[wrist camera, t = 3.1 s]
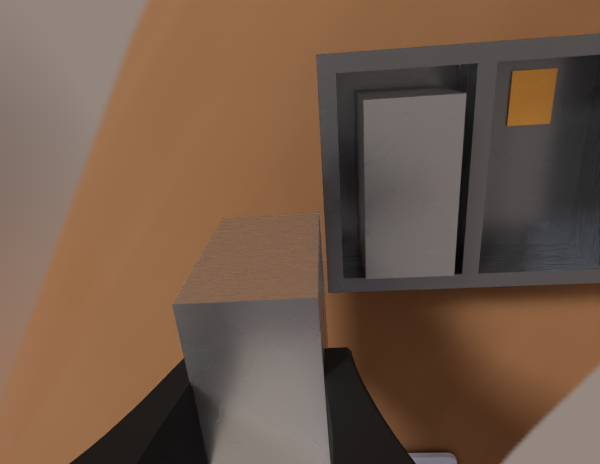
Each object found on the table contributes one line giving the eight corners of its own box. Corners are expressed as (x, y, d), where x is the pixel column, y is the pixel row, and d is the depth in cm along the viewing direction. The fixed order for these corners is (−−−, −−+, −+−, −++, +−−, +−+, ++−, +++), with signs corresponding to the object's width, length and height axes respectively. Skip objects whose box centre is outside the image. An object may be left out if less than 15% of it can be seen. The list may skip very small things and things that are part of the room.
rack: (578, 249, 19) (649, 303, 15) (327, 259, 20) (329, 313, 16) (617, 32, 16) (720, 24, 12) (317, 54, 17) (315, 54, 13)
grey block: (329, 369, 16) (333, 502, 11) (247, 372, 16) (216, 504, 11) (318, 212, 13) (317, 297, 9) (222, 218, 14) (172, 304, 9)
